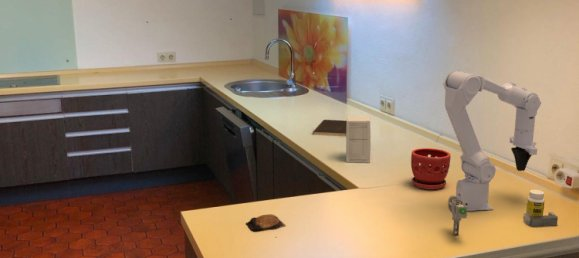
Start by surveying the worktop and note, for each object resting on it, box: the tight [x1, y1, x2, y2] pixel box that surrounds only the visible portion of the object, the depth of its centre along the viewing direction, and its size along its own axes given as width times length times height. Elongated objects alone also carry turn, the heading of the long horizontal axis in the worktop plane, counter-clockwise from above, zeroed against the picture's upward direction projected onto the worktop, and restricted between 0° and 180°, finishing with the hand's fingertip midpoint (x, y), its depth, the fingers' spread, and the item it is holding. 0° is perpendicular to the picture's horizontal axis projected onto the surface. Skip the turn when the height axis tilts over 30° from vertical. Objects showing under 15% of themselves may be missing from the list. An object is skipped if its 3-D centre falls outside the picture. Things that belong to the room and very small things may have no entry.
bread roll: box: [245, 214, 287, 233], centre depth 183 cm, size 11×8×4 cm
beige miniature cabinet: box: [345, 115, 372, 164], centre depth 244 cm, size 10×9×17 cm
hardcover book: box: [312, 119, 347, 137], centre depth 292 cm, size 16×23×2 cm
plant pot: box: [410, 147, 451, 190], centre depth 214 cm, size 13×13×12 cm
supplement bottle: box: [525, 189, 545, 216], centre depth 186 cm, size 5×5×8 cm
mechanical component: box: [447, 195, 468, 236], centre depth 175 cm, size 3×10×10 cm, turn 2°
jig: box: [523, 211, 559, 228], centre depth 183 cm, size 9×4×2 cm, turn 96°
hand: (520, 170), depth 200 cm, fingers closed
